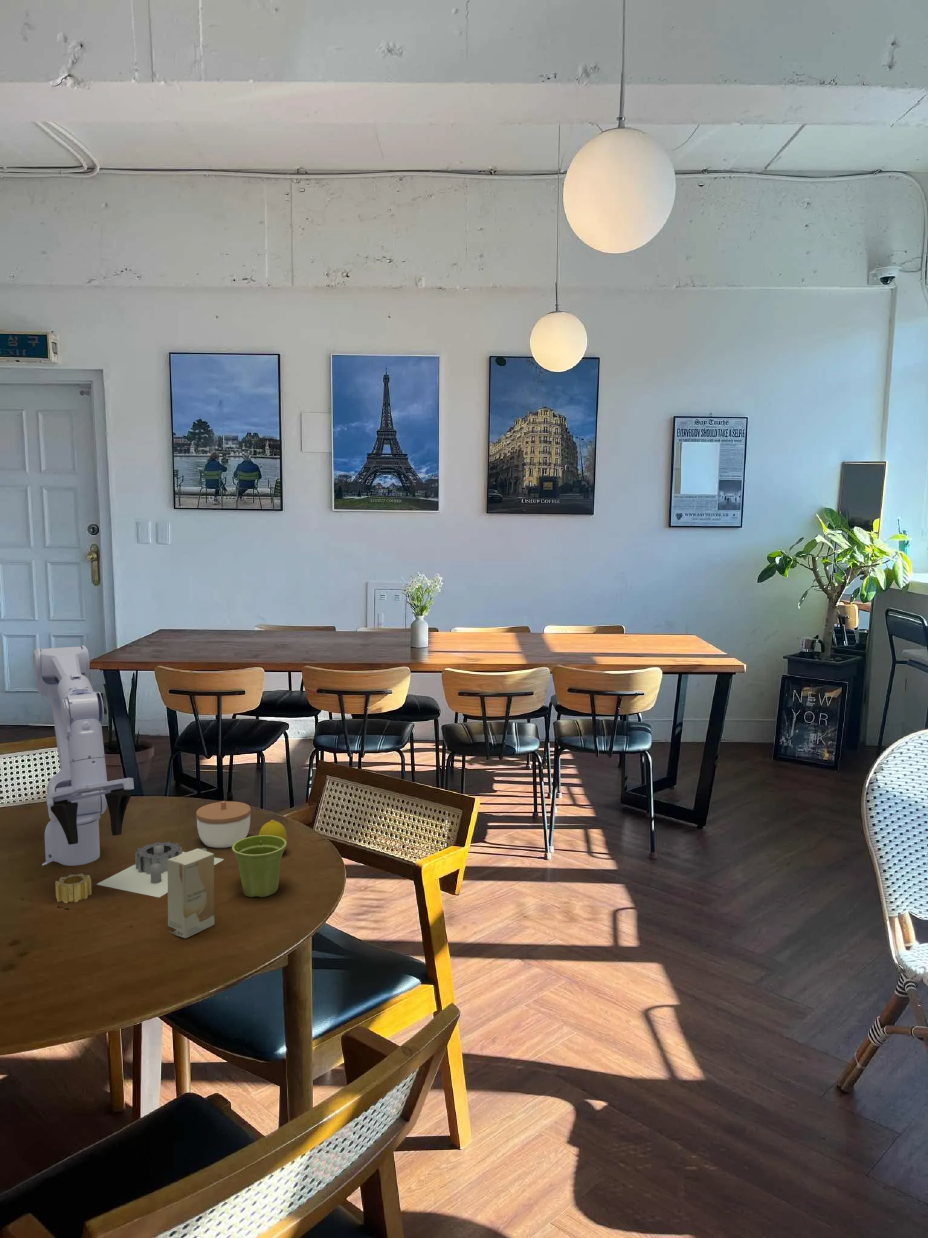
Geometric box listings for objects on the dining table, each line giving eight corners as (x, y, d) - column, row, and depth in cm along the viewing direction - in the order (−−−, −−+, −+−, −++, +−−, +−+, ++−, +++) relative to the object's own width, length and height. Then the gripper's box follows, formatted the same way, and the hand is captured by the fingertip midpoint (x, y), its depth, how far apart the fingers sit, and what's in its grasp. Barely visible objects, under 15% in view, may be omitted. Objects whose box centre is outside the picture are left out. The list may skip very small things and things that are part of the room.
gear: (126, 870, 155) (125, 854, 155) (157, 854, 162) (156, 839, 162) (161, 877, 152) (161, 861, 152) (191, 860, 160) (190, 845, 159)
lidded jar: (259, 849, 169) (258, 804, 168) (206, 860, 163) (205, 814, 162) (240, 833, 177) (240, 790, 176) (190, 843, 171) (189, 799, 170)
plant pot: (252, 908, 143) (251, 859, 142) (222, 891, 149) (221, 844, 148) (297, 891, 150) (296, 844, 149) (267, 875, 156) (266, 831, 155)
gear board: (96, 890, 149) (95, 865, 148) (165, 854, 165) (165, 831, 165) (159, 904, 144) (158, 877, 143) (224, 865, 160) (223, 841, 160)
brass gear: (49, 906, 142) (48, 883, 142) (74, 893, 148) (73, 871, 147) (74, 911, 141) (73, 889, 140) (98, 898, 146) (97, 876, 145)
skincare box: (185, 940, 131) (183, 865, 130) (167, 933, 134) (164, 859, 132) (217, 924, 137) (215, 852, 135) (199, 917, 139) (197, 846, 138)
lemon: (280, 866, 160) (279, 826, 159) (253, 863, 161) (252, 823, 161) (291, 855, 166) (291, 816, 165) (266, 853, 167) (265, 814, 166)
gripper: (34, 768, 142) (41, 849, 139) (118, 751, 142) (126, 832, 139) (55, 770, 149) (62, 847, 146) (135, 753, 149) (143, 830, 146)
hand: (95, 839), depth 143 cm, fingers open, 7 cm apart
